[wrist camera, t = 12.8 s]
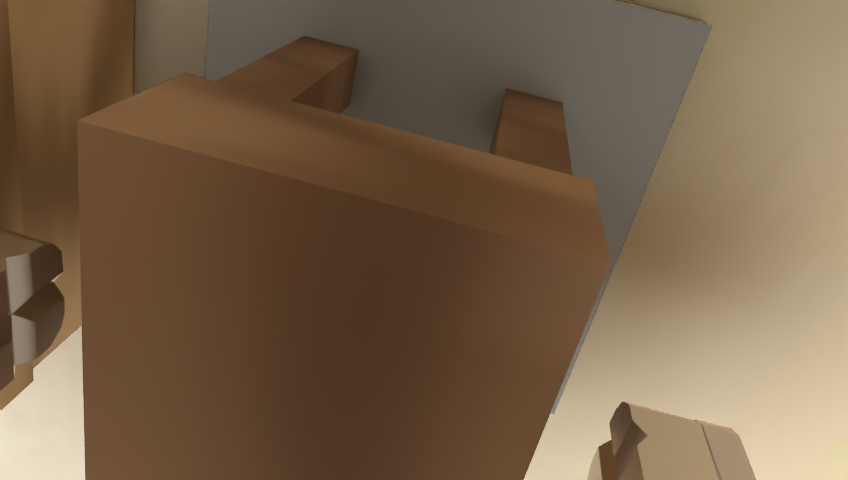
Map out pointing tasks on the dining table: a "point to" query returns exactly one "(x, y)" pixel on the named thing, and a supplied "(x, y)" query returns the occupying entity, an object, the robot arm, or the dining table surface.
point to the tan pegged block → (324, 282)
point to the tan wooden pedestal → (55, 125)
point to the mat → (497, 75)
